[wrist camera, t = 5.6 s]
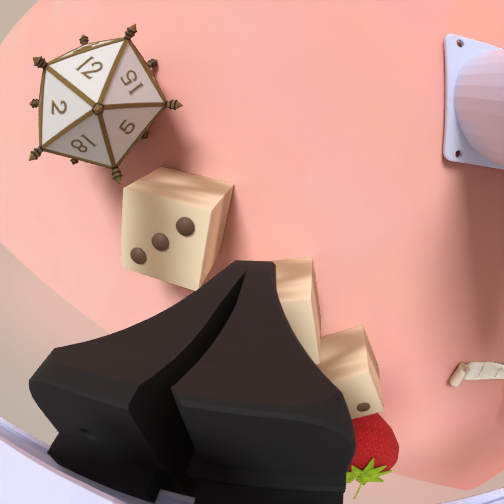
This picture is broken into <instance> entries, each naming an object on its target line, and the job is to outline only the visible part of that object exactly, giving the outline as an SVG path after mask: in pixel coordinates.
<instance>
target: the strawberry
mask: <svg viewBox="0 0 504 504" xmlns="http://www.w3.org/2000/svg"><path fill="white" fill-rule="evenodd" d="M352 422H353V426H354V431H355V437H356V451H355V455H354V457H353V460H352V462H351V464H350V467H349V469H348V471H347V473H346V483H350V482H351V481H353V480H354V479H355V478H357V479H356V480H357V481H358V482H360V483H361V484H360V486H359V488H358V491H359V489H360V487H361V485H362V484H363V485H365V484H366V483H367V482H383V480H382V479H380V478H379V477H378V476H380V475H383V474H387V473H390V472H392V470H390V469H391V468H392V467H393V466H394V465H395V463H396V462H397V459H398V453H399V445H398V442H397V440H396V437H395V435H394V433H393V430H392V429H391V427H390V426H389V425H388V424H387V423H386V422H385V420H384V419H383V418H382V417H381V416H380V415H379V414H378V413H374V414H371V415H367V416H363V417H359V418H354V419H352ZM389 470H390V471H389ZM358 491H357V493H358ZM357 493H356V495H357ZM356 495H355V497H356ZM355 497H354V499H355Z"/></svg>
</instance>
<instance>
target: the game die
mask: <svg viewBox="0 0 504 504" xmlns="http://www.w3.org/2000/svg"><path fill="white" fill-rule="evenodd" d="M136 32H137V31H136V24H134V25H132V26H131V27H129V28H127V31H125V37H124V38H117V39H111V40H104V41H99V42H93V43H88V41H89V40H88V37H86V36H85V35H82V37H81V39H79V40H80V44H82V46H80V47H78V48H76V49H74V50H71V51H69V52H67V53H65V54H63V55H62V56H60V57H58V58H56V59H54V60H52V61H50V62H48V63H47V62H46V61H45V58H44V59H43V58H42V56H41V57H33V60H34V64H35V65H34V66H38V68H40V67H41V68H43V73H42V80H41V87H40V95H39V100H38V99H36V100H35V99H33V100H32V101H31V102H30V103H29V104H30V105H31V106H32V108H34V107H35V108H36V107H38V106H39V147H38V148H36V149H35V148H34V150H33V151H31V155H30V158H29V161H30V160H35V159H36V160H37V158H38V157H39V156H40V155H41V153H42V152H43V151H45V152H49V153H53V154H57V155H61V156H65V157H69V158H72V159H71V160H70V161H71V162H72V164H73V165H74V164H76V163H78V160H80V161H84V162H88V163H91V164H95V165H99V166H103V167H106V168H110V169H112V175H113V179H114V180H116V181H117V182H118V183H119V184H120V181H121V177H122V176H123V175H121V171H120V170H119V169H118V166H119V165H120V163H121V162H122V161H123V159H124V158H125V157H126V155H127V154H128V153H129V151H130V150H131V149H132V148H133V146H134V145H135V144H136V142H137V141H138V140H139V139H140V138H142V139H144V138H148V132H146V130H147V129H148V128H149V126H150V125H151V124H152V123H153V122H154V120H155V119H156V118H157V117H158V116H159V115H160V113H161V112H162V111H163V110H164V109H165V108H166V107H168V108H170V109H174V110H176V109H177V108H179V107H181V106H183V105H182V104H180V103H179V102H178V101H177V100H176V101H173V100H171V101H166V99H165V97H164V95H163V93H162V91H161V89H160V87H159V85H158V83H157V81H156V79H155V77H154V75H153V73H152V71H151V69H150V68H153V66H156V62H157V60H154V59H151V60H149V61H148V62H147V63H146V61H145V60H144V58H143V57H142V56H141V54H140V53H139V51H138V50H137V48H136V47H135V46H134V44H133V43H132V41H131V40H130V39H131V38H132V37H133V36H135V35H134V34H135V33H136Z"/></svg>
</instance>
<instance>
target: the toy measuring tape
mask: <svg viewBox="0 0 504 504" xmlns="http://www.w3.org/2000/svg"><path fill="white" fill-rule="evenodd" d="M464 379H466V380H482V379H504V364H501V363H497V362H469V363H468V364H467V365H466V364H465V363H464V362H462V363H460V364H459V366H458V367H457V369H456V370H455V372H454V373H453V375H452V376H451V377H450V379H449V382H450V384H451V385H452V386H454V387H457V386H459V385H460V384H461V383H462V381H463V380H464Z"/></svg>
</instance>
